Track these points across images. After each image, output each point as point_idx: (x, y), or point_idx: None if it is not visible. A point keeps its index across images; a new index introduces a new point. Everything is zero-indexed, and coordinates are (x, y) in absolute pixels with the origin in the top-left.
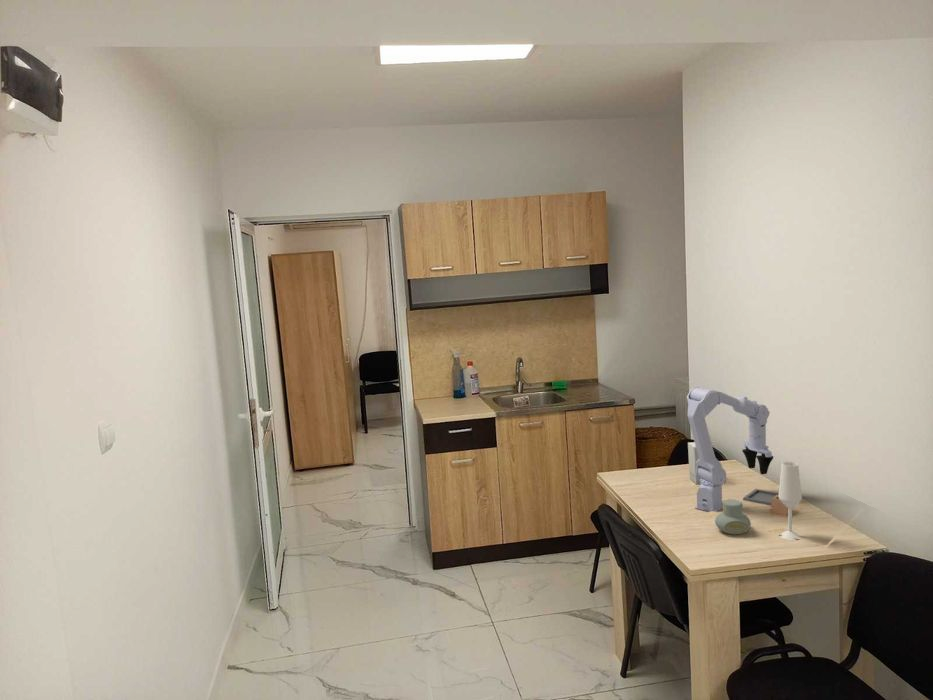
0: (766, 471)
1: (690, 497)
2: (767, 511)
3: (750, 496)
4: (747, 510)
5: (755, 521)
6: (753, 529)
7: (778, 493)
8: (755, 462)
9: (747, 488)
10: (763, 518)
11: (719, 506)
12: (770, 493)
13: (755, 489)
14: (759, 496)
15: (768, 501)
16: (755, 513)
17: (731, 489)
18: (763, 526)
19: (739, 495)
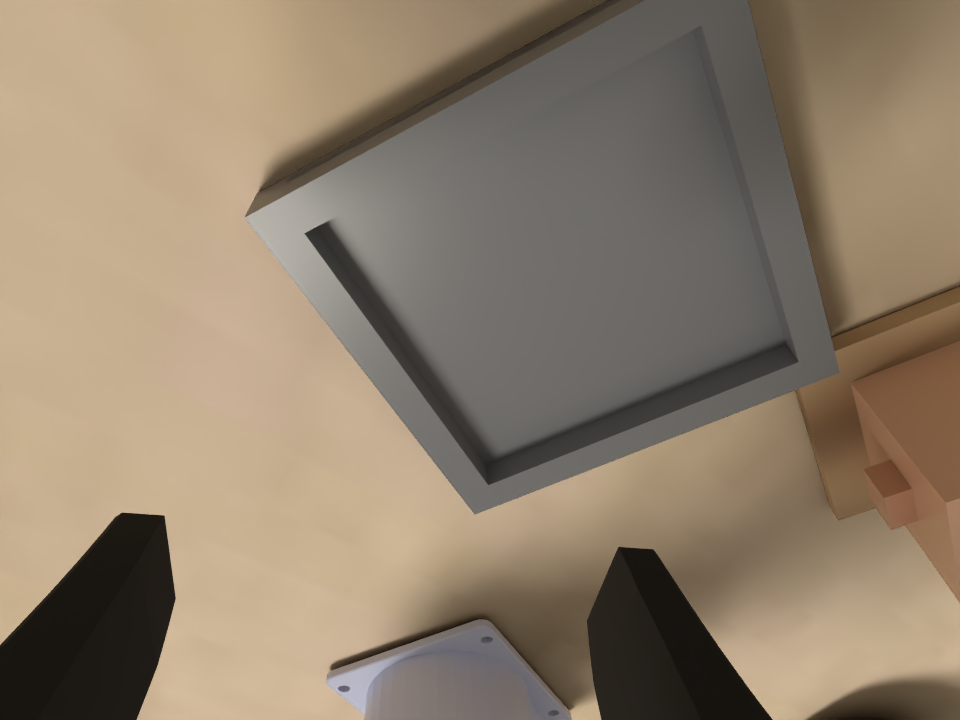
0: (674, 604)
1: (197, 702)
2: (831, 490)
3: (439, 405)
4: (665, 557)
5: (854, 616)
6: (921, 676)
7: (586, 69)
8: (101, 624)
9: (44, 176)
10: (866, 556)
11: (526, 694)
12: (477, 135)
13: (274, 245)
14: (464, 302)
15: (656, 325)
16: (754, 546)
17: (49, 370)
18: (948, 622)
19: (288, 412)
